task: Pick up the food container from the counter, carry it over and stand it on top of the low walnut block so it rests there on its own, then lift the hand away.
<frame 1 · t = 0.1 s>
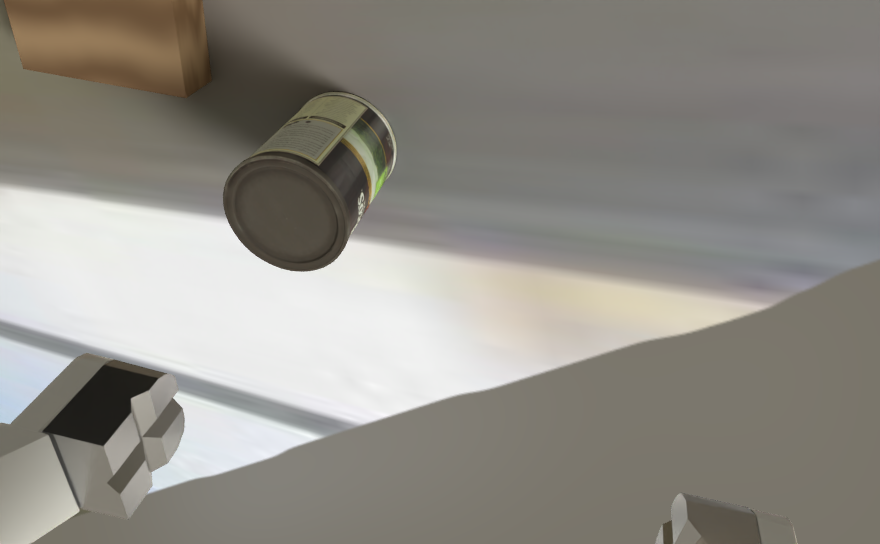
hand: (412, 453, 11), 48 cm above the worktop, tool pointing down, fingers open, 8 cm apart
coffee can: (345, 142, 63), on the worktop
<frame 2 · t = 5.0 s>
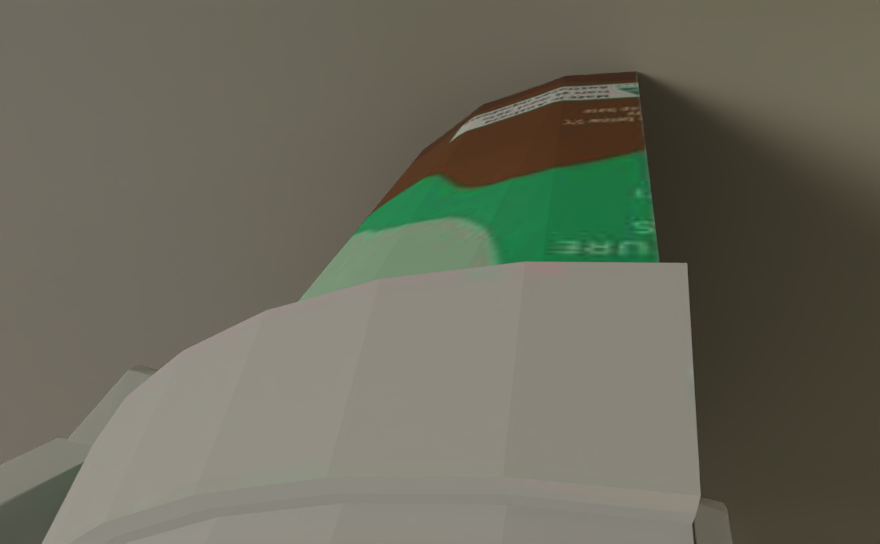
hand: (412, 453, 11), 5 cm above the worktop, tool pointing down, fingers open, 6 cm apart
food container: (465, 278, 14), on the worktop, touching gripper
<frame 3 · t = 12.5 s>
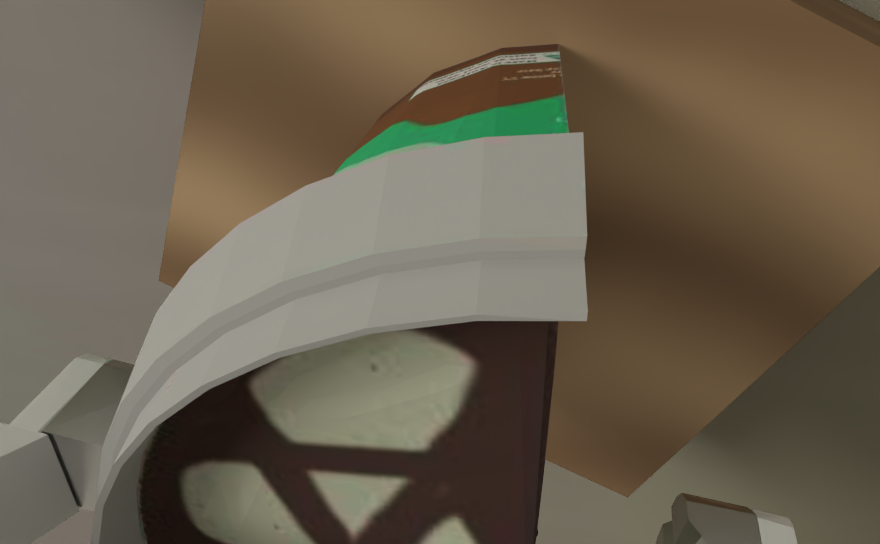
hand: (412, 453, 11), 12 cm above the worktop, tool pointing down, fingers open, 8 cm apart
walnut block: (519, 138, 20), on the worktop, touching food container
food container: (420, 227, 17), point 4 cm above the worktop, touching gripper, walnut block
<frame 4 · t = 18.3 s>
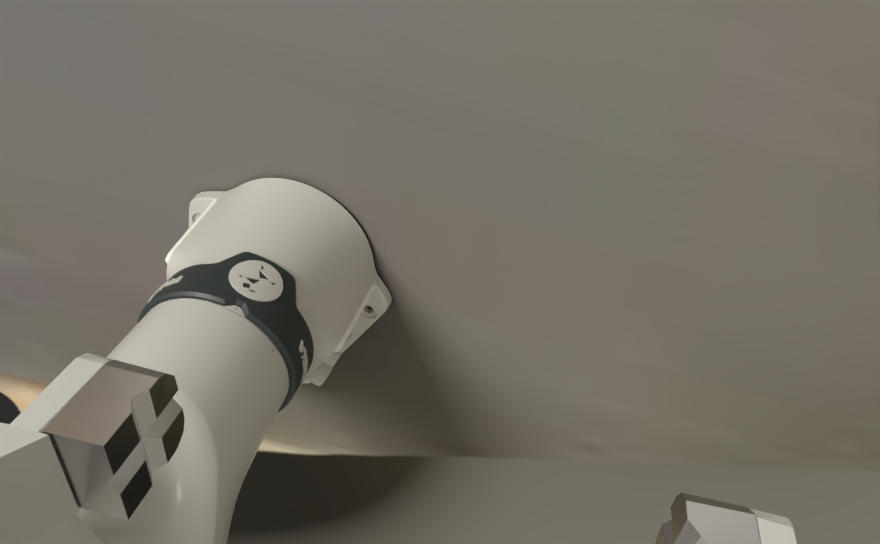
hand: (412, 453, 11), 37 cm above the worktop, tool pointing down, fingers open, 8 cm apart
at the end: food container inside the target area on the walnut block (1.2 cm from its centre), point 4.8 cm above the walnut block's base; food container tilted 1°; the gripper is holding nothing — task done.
